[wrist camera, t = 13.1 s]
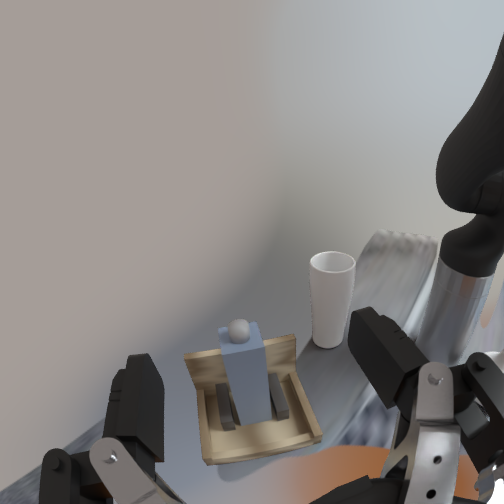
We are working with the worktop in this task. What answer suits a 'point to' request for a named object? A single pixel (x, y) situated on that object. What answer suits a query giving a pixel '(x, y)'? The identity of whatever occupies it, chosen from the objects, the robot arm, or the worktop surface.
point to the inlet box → (226, 417)
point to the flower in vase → (500, 359)
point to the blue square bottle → (246, 370)
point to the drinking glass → (330, 296)
